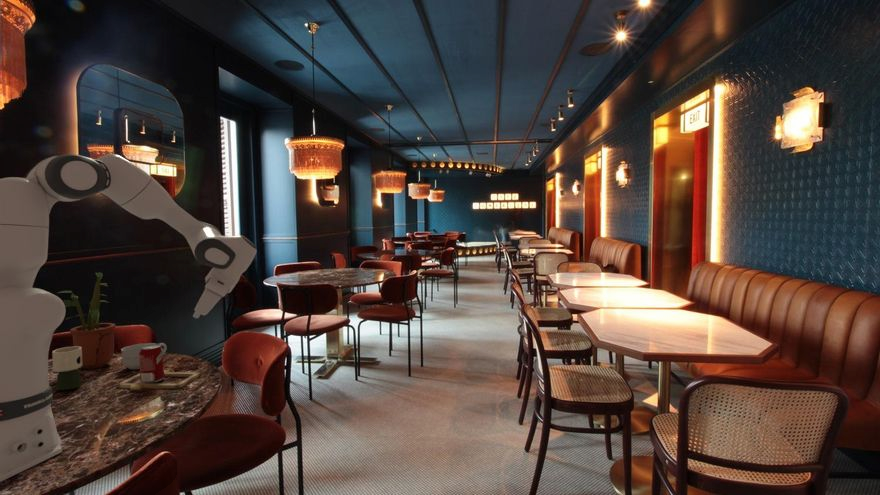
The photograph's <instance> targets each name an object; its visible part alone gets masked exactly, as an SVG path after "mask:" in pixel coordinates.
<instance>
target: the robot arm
mask: <svg viewBox="0 0 880 495" xmlns="http://www.w3.org/2000/svg"><path fill="white" fill-rule="evenodd" d="M97 194H102V195H103V196H106V197H108V198H109V199H111V200H112V201H113V202H114V203H115V204H116V205H119V207H121V208H122V209H124V210H125V211H127V212H128V213H130V214H132V215H134V216H135V217H138V218H140V219H141V220H153V219H158V220H160V221H163V222H165V223H166V224H167V225H169V226H170V227H171V228H173V229H174V230H176V231H177V232H178V233H180V234H181V235H182V236H183V237H184V238H185V240H186V242H187V244H188V245H189V247H190V249H191V251H192V254H193V256H194V258H195V260H197V261H198V263H199V264H201V265H203V266H207V267H210V268H211V269H210V270H209V272H208V274H207V275H206V276H205V278H204V280H205V285H204V290H203V292H202V294H201V296H200V298H199V300H198V302H197V303H196V305H195V307H194V312H193V314H192V317H193V318H194V319H199V318H200V316H201V315H202V316H206V315H208V314H209V312H210V311H211V310H212V309H214V306H216V304H217V303H218V302H219V301H220V300H221V299H222V298H224V297H225V296H226V295H227V294H229V293H231V292H232V291H233V290H234V288H235V286H237V284H238V282H239V281H240V278H241V276H242V275H243V273H245V272H246V271H247V269H248V268H249V267H250V265H251V264H252V262H253V260H254V259H255V257H256V254H257V253H258V251H257V250H258V249H257V247H256V245H255V244H254V243H253V242H252V241H251V240H250V239H249V238H247V237H246V236H244V235H242V234H239V235H222V233H221V231H220V230H219V228H217V227H216V226H215V225H213V224H210V223H207V222H204V221H202V220H199V219H197V218H195V217H194V216H193V215H192V214H190V213H189V212H187V210H185V209H184V208H183V207H181V206H180V205H179V204H177V203H176V202H175V201H174V199H173V198H172V196H171V195H170V193H169V192H168V191H167V190H166V189H165V188H164V187H163V186H162V185H161V184H160V183H159V181H157V180H156V179H154V178H153V177H152V176H151V175H150V174H149V173H148V172H146V171H145V170H144V169H142V168H140V167H139V166H138V165H136V164H134V163H133V162H132V161H129V160H128V159H126V158H125V157H122V155H119V154H115V153H108V154H105V155H102V156H99V157H98V158H96V159H95V158H91V157H87V156H83V155H80V154H73V153H68V154H66V153H65V154H60V155H53V156H51V157H50V156H49V157H47V158H45V159H43V160H41V161H39V162H37V163H36V164H35V165H33V166H32V167H31V168H30V169H29V170H28V171H27V173H25V175H24V176H23V177H20V176H19V177H17V176H16V177H15V176H14V177H13V176H10V177H9V176H8V177H3V178H0V483H2V482H3V481H5V480H7V479H10V478H11V477H14V476H15V475H17V474H19V473H22V472H24V471H26V470H28V469H29V468H32V467H34V466H36V465H38V464H40V463H42V462H45V461H47V460H49V459H50V458H52V457H54V456H56V455H59V454H60V453H62V452H63V447H62V439H61V437H60V435H59V432H58V430H57V426H56V422H55V417H54V414H53V410H52V404H51V403H52V402H53V396H54V395H53V392H52V391H53V390H52V386H51V385H50V381H49V379H50V378H49V351H50V346H51V344H52V343H51V342H52V340H53V336H54V333H55V331H56V329H58V327H59V326H61V324H62V323H63V321H64V319H65V316H66V312H67V311H66V307H65V305H64V303H63V301H64V300H62V298H60V297H59V296H57V295H55V294H53V293H51V292H49V291H46V290H44V289H41V288H37V287H33V286H34V283H35V280H36V277H37V274H38V272H39V271H40V269H41V267H42V266H44V264H46V262H47V260H48V254H49V253H48V252H49V251H48V250H49V234H50V233H49V231H50V230H49V229H50V213H51V210H52V208H53V206H54V205H55V204H56V203H62V202H76V201H81V200H85V199H87V198H91V197H92V196H94V195H97Z"/></svg>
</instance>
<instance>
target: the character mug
mask: <svg viewBox="0 0 880 495" xmlns="http://www.w3.org/2000/svg"><path fill="white" fill-rule="evenodd" d="M51 355H52V370H53V372H58V373H57V378H56V388H55V390H56V391H66V390H67V391H71V390H74V389H77V388H80V387H81V386H83V385H82V379H81V374H80V370H79V368H82V367H81V366H82V348H81V347H79V346H65V347H61V348H56V349H55V350H52V352H51Z"/></svg>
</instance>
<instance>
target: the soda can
mask: <svg viewBox="0 0 880 495" xmlns="http://www.w3.org/2000/svg"><path fill="white" fill-rule="evenodd" d="M163 350H164V348H162V346H161V345H160V343H155V344H150V345H145V346H143V347H141V351H140V352H139V362H140V369H139V373H140V378H139V380H140V381H139V383H151V384H157V383H159V382H161V381H162V380H163V379H164V378H165V377H164V370H165V362H164V360H165V358H164V357H165V356H164V354H163Z"/></svg>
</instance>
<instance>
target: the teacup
mask: <svg viewBox="0 0 880 495" xmlns="http://www.w3.org/2000/svg"><path fill="white" fill-rule="evenodd" d="M150 344H156V343H155V342H146V343H137V344H132V345H129V346H124V347H123V348H121V349H120V351H121V358H122V365H123V366H124V367H125V368H127V369H129V370H131V371H132V370H140V362H139V352H140V351H141V347H143V346H145V345H150ZM159 344H160V345H161V347H163V355H164V354H165V353H166V351H167V350H168V349H167V347H168V346H167V345H166V344H165V343H163V342H159Z"/></svg>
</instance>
